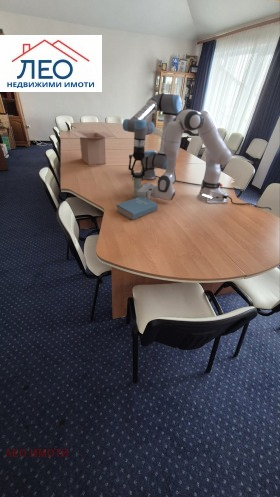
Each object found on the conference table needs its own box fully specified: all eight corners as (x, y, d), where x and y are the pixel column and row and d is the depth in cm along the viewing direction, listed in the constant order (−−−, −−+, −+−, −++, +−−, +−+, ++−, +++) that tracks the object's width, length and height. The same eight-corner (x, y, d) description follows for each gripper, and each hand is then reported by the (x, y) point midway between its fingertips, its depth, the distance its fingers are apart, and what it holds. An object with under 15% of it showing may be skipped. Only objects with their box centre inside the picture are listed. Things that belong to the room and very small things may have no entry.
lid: (132, 177, 159) (132, 174, 158) (134, 175, 164) (134, 171, 163) (140, 178, 158) (141, 175, 157) (142, 176, 163) (142, 172, 162)
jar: (133, 197, 167) (134, 176, 158) (132, 194, 171) (133, 173, 162) (140, 197, 168) (141, 176, 159) (139, 194, 172) (140, 173, 163)
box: (116, 165, 229) (116, 136, 213) (83, 168, 214) (80, 137, 198) (102, 154, 259) (101, 128, 243) (71, 156, 244) (68, 129, 228)
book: (140, 202, 160) (141, 196, 157) (157, 210, 151) (157, 203, 148) (116, 211, 147) (116, 204, 144) (132, 220, 138) (133, 213, 135)
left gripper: (124, 146, 146) (124, 180, 159) (153, 148, 146) (150, 182, 160) (125, 143, 152) (124, 177, 165) (153, 145, 152) (150, 179, 166)
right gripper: (158, 182, 168) (141, 179, 172) (148, 191, 153) (130, 187, 157) (157, 190, 172) (140, 187, 176) (147, 200, 157) (130, 196, 161)
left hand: (137, 179), depth 162 cm, fingers closed on lid, 6 cm apart
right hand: (135, 187), depth 166 cm, fingers closed on jar, 5 cm apart
